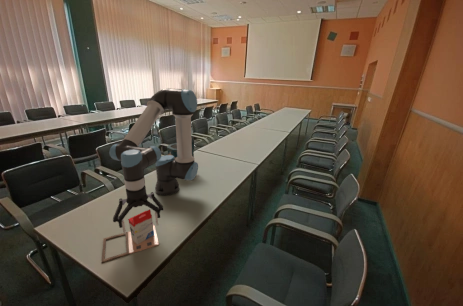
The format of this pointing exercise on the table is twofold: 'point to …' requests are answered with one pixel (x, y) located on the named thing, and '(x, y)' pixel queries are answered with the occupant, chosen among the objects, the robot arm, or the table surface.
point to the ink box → (141, 227)
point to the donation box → (173, 148)
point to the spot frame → (116, 255)
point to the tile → (142, 243)
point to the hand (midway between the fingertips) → (141, 227)
